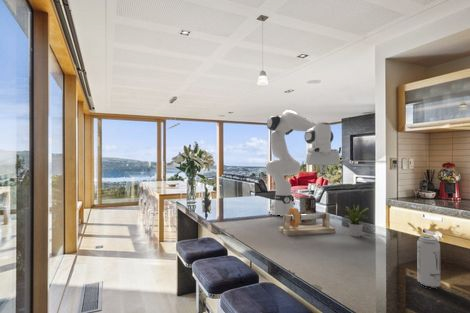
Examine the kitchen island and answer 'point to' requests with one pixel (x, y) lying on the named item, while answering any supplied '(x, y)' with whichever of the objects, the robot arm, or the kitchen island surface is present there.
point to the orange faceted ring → (296, 215)
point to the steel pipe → (309, 216)
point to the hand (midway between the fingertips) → (323, 172)
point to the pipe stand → (306, 227)
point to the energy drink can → (428, 261)
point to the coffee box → (308, 208)
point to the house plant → (355, 221)
